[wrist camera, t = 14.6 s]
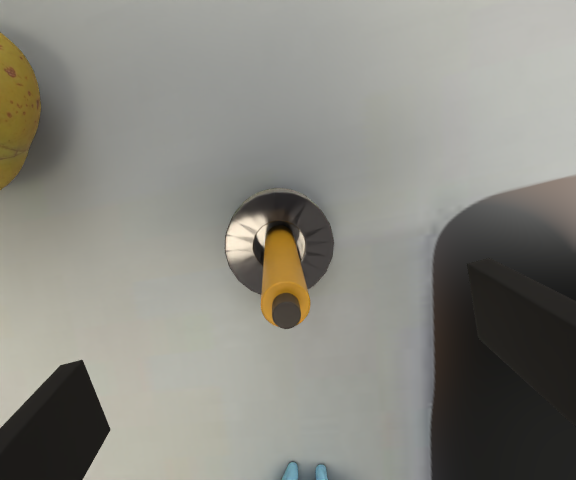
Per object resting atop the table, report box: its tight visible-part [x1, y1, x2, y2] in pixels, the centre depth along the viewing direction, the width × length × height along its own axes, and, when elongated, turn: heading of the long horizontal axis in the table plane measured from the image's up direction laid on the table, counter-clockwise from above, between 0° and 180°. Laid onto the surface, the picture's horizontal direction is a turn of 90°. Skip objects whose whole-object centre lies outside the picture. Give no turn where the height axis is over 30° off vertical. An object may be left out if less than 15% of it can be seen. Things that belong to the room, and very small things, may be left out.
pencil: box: [261, 225, 310, 329], centre depth 24 cm, size 2×2×15 cm
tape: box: [225, 188, 334, 294], centre depth 30 cm, size 8×8×3 cm
